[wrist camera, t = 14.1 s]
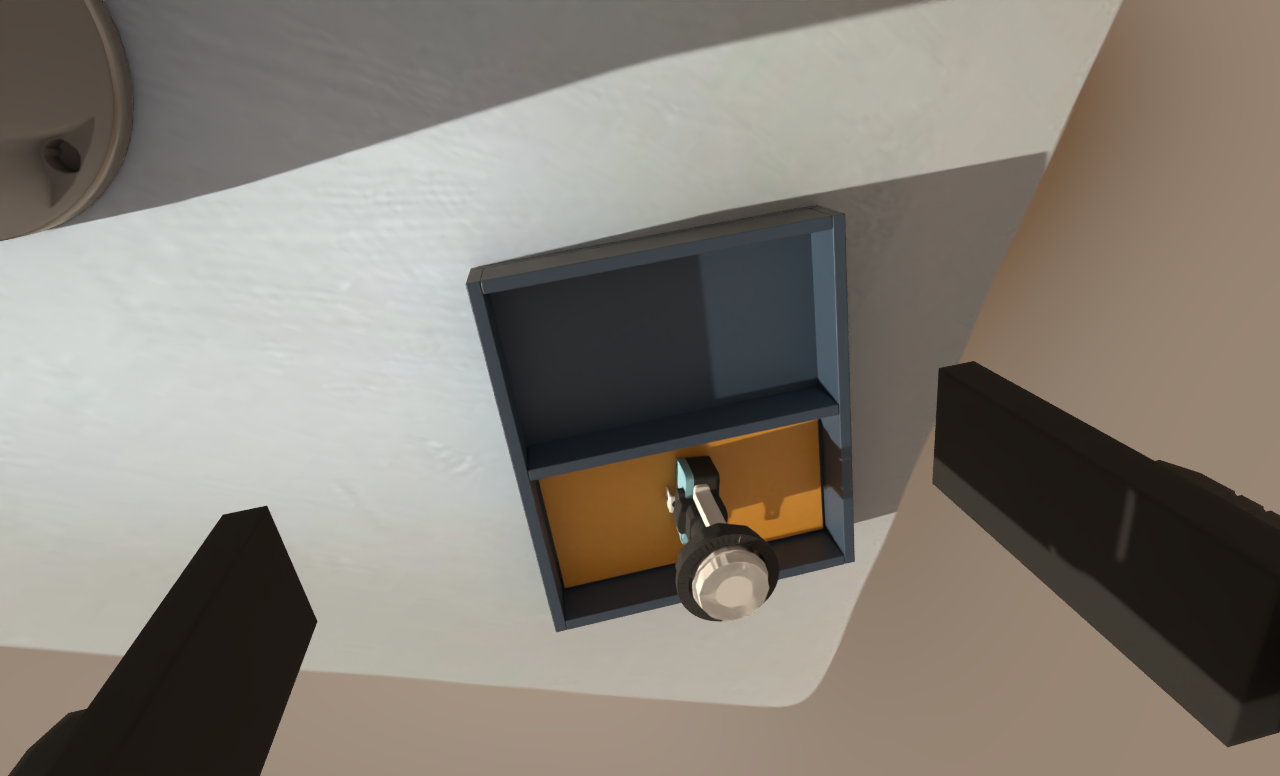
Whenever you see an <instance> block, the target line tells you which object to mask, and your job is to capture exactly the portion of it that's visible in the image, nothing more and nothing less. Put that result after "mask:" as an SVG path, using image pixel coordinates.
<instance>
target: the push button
mask: <svg viewBox="0 0 1280 776" xmlns="http://www.w3.org/2000/svg"><path fill="white" fill-rule="evenodd" d="M675 466H676V479H675V496H671V494H670V492H669V489H668V486H666V487H665V500H666V503H667V506H668V509H670V512H671V513H672V512H673V518H674V521H675V525H676V527H677V530H678V533H679V535H680V540H681V542H682V543H683V547H682V548H681V549H680V551H679V554H678V557H677V561H676V565H675V567H676V570H677V573H676V589H677V593H678V596H679V598H680V600H681V602H682V604H683V605H684V607H685V608H686V609H687V610H688V611H689V612H691V613H692V614H694V615H695V616H697V617H699V618H702V619H705V620H709V621H729V620H730V621H733V620H738V619H741V618H743V617H746V616H749V615H750V614H752V613H754V612H755V611H756V610H757V609H758V608H759V607H760V606H761V605H762V604H763V603H764V602H765V601H766V600H767V599H768V598H769V597H770V595H771V594H772V592H773V591H774V589H775V587H776V584H777V581H778V578H779V563H778V559H777V557H776V555H775V553H774V551H773V549H772V548H771V546H770V545H769V544H768V543H767V542H766V541H765V540H764V539H763V538H761V537H760V536H759V535H758V534H757V533H756V532H755V531H753V530H752V529H751V528H749V527H748V526H745V525H736V524H727V521H728V513H727V509H726V507H725V505H724V503H723V501H722V499H721V498H720V496H719V487H720V475H719V472H718V470H717V469H716V467H715V465H714V463H713V461H712V460H711V458H710V456H702V457H688V458H676V462H675ZM667 494H668V496H667ZM752 548H754V549H755V550H757V551H758V552H759V557H758V556H756V554H755V553H754V551H753V549H752ZM690 575H691V578H692V580H693V583H692V586H691V585H690V584H689V583H688V582H689V576H690Z"/></svg>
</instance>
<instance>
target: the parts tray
mask: <svg viewBox="0 0 1280 776" xmlns="http://www.w3.org/2000/svg"><path fill="white" fill-rule="evenodd" d="M466 288H467V292H468V295H469V299H470V303H471V307H472V311H473V315H474V319H475V322H476V326H477V330H478V334H479V338H480V342H481V345H482V349H483V353H484V357H485V361H486V365H487V369H488V372H489V376H490V380H491V384H492V388H493V392H494V395H495V399H496V403H497V407H498V411H499V415H500V419H501V422H502V426H503V430H504V434H505V438H506V442H507V445H508V449H509V453H510V457H511V461H512V465H513V469H514V472H515V476H516V480H517V484H518V488H519V492H520V495H521V499H522V503H523V507H524V511H525V515H526V518H527V522H528V526H529V530H530V534H531V538H532V542H533V545H534V549H535V553H536V557H537V561H538V565H539V568H540V572H541V576H542V580H543V584H544V588H545V592H546V595H547V599H548V603H549V607H550V611H551V615H552V618H553V622H554V626H555V630H556V632H560V631H564V630H567V629H572V628H576V627H581V626H585V625H589V624H593V623H597V622H602V621H606V620H610V619H614V618H619V617H623V616H627V615H631V614H635V613H640V612H644V611H648V610H652V609H657V608H661V607H665V606H669V605H673V604H678V603H682V602H681V600H680V598H679V596H678V593H677V589H676V573H677V570H676V567H675V565H676V561H677V557H678V554H679V551H680V549H681V548H682V547H683V543H682V542H681V540H680V535H679V533H678V530H677V527H676V525H675V521H674V518H673V512H672V513H671V512H670V509H668V506H667V503H666V500H665V487H666V486H668V489H669V492H670V494H671V496H675V479H676V466H675V462H676V458H688V457H702V456H710V458H711V460H712V461H713V463H714V465H715V467H716V469H717V470H718V472H719V475H720V487H719V496H720V498H721V499H722V501H723V503H724V505H725V507H726V509H727V513H728V521H727V524H736V525H745V526H748V527H749V528H751V529H752V530H753V531H755V532H756V533H757V534H758V535H759V536H760V537H761V538H763V539H764V540H765V541H766V542H767V543H768V544H769V545H770V546H771V548H772V549H773V551H774V553H775V555H776V557H777V559H778V563H779V578H778V580H779V579H783V578H787V577H792V576H796V575H800V574H804V573H808V572H813V571H817V570H821V569H825V568H830V567H834V566H838V565H842V564H844V563H845V564H846V563H850V562H854V561H855V556H854V520H853V484H852V448H851V413H850V377H849V341H848V305H847V269H846V233H845V214H844V213H841V212H838V211H834V210H831V209H828V208H824V207H821V206H818V205H814V206H809V207H804V208H798V209H793V210H787V211H782V212H776V213H771V214H765V215H760V216H755V217H749V218H744V219H738V220H733V221H727V222H722V223H716V224H711V225H706V226H700V227H695V228H689V229H684V230H678V231H673V232H668V233H662V234H657V235H651V236H646V237H640V238H635V239H629V240H624V241H619V242H613V243H608V244H602V245H597V246H591V247H586V248H581V249H575V250H570V251H564V252H559V253H553V254H548V255H542V256H537V257H532V258H526V259H521V260H515V261H510V262H504V263H499V264H494V265H488V266H483V267H477V268H472V269H471V270H470V273H469V276H468V279H467V282H466ZM667 496H668V494H667ZM752 549H753V551H754V553H755V554H756V556H758V557H759V552H758V551H757V550H755V549H754V548H752ZM688 583H689V584H690V585H691V586H692V583H693V580H692V578H691V575H690V576H689V582H688Z"/></svg>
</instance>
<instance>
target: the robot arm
mask: <svg viewBox="0 0 1280 776" xmlns="http://www.w3.org/2000/svg"><path fill="white" fill-rule="evenodd" d="M132 122H133V93H132V83H131V77H130V71H129V66H128V63H127V59H126V55H125V51H124V48H123V45H122V42H121V40H120V37H119V34H118V31H117V29H116V27H115V25H114V22H113V20H112V18H111V16H110V14H109V12H108V10H107V8H106V6H105V4H104V3H103V1H102V0H0V241H3V240H8V239H12V238H17V237H21V236H25V235H30V234H34V233H38V232H41V231H44V230H47V229H50V228H53V227H55V226H58V225H60V224H62V223H64V222H66V221H68V220H70V219H72V218H73V217H75V216H76V215H78V214H80V213H81V212H83V211H84V210H85V209H86V208H88V207H89V206H90V205H91V204H93V203H94V202H95V201H96V200H97V199H98V198H99V197H100V196H101V194H102V193H103V192H104V191H105V190H106V188H107V187H108V186H109V184H110V183H111V182H112V180H113V179H114V177H115V175H116V173H117V172H118V170H119V168H120V166H121V164H122V161H123V159H124V156H125V154H126V151H127V147H128V144H129V140H130V135H131V129H132ZM935 429H936V430H935V446H934V448H935V449H934V465H933V484H934V485H935V486H936V487H937V488H938V489H939V490H941V491H942V492H943V493H944V494H945V495H946V496H947V497H948V498H950V499H951V500H952V501H953V502H954V503H955V504H956V505H957V506H958V507H960V508H961V509H962V510H963V511H964V512H965V513H966V514H967V515H968V516H970V517H971V518H972V519H973V520H974V521H975V522H976V523H978V524H979V525H980V526H981V527H982V528H983V529H984V530H985V531H986V532H987V533H989V534H990V535H991V536H992V537H993V538H994V539H995V540H996V541H998V542H999V543H1000V544H1001V545H1002V546H1003V547H1004V548H1005V549H1007V550H1008V551H1009V552H1010V553H1011V554H1012V555H1013V556H1014V557H1015V558H1017V559H1018V560H1019V561H1020V562H1021V563H1022V564H1023V565H1024V566H1025V567H1027V568H1028V569H1029V570H1030V571H1031V572H1032V573H1033V574H1034V575H1036V576H1037V577H1038V578H1039V579H1040V580H1041V581H1042V582H1043V583H1045V584H1046V585H1047V586H1048V587H1049V588H1050V589H1051V590H1053V592H1055V593H1056V594H1057V595H1058V596H1059V597H1060V598H1061V599H1062V600H1063V601H1065V602H1066V603H1067V604H1068V605H1069V606H1070V607H1071V608H1073V609H1074V610H1075V611H1076V612H1077V613H1078V614H1079V615H1080V616H1081V617H1082V618H1084V619H1085V620H1086V621H1087V622H1088V623H1089V624H1090V625H1091V626H1093V627H1094V628H1095V629H1096V630H1097V631H1098V632H1099V633H1100V634H1102V635H1103V636H1104V637H1105V638H1106V639H1107V640H1108V641H1109V642H1111V643H1112V644H1113V645H1114V646H1115V647H1116V648H1117V649H1118V650H1120V651H1121V652H1122V653H1123V654H1124V655H1125V656H1126V657H1127V658H1128V659H1129V660H1131V661H1132V662H1133V663H1134V664H1135V665H1136V666H1137V667H1138V668H1139V669H1141V670H1142V671H1143V672H1144V673H1145V674H1146V675H1147V676H1148V677H1150V678H1151V679H1152V680H1153V681H1154V682H1155V683H1156V684H1157V685H1158V686H1160V687H1161V688H1162V689H1163V690H1164V691H1165V692H1166V693H1167V694H1169V695H1170V696H1171V697H1172V698H1173V699H1174V700H1175V701H1176V702H1178V703H1179V704H1180V705H1181V706H1182V707H1183V708H1184V709H1185V710H1186V711H1188V712H1189V713H1190V714H1191V715H1192V716H1193V717H1194V718H1195V719H1197V720H1198V721H1199V722H1200V723H1201V724H1202V725H1203V726H1204V727H1205V728H1207V729H1208V730H1209V731H1210V732H1211V733H1212V734H1213V735H1214V736H1216V737H1217V738H1218V739H1219V740H1220V741H1221V742H1222V743H1223V744H1224V745H1226V746H1227V747H1230V746H1234V745H1237V744H1241V743H1244V742H1247V741H1251V740H1255V739H1258V738H1262V737H1265V736H1268V735H1272V734H1276V733H1279V732H1280V515H1278V514H1276V513H1274V512H1273V511H1267V512H1266V511H1265V510H1264V508H1263V506H1261V505H1259V504H1258V503H1256V502H1254V501H1252V500H1250V499H1248V498H1246V497H1244V496H1243V495H1240V496H1237V495H1236V494H1235V491H1233V490H1231V489H1229V488H1227V487H1226V486H1223V485H1222V484H1220V483H1218V482H1216V481H1214V480H1212V479H1210V478H1208V477H1207V476H1205V475H1203V474H1201V473H1199V472H1195V471H1192V470H1189V469H1186V468H1183V467H1180V466H1177V465H1174V464H1171V463H1168V462H1165V461H1161V460H1158V461H1154V460H1152V459H1150V458H1148V457H1146V456H1145V455H1142V454H1141V453H1139V452H1137V451H1135V450H1134V449H1132V448H1130V447H1128V446H1126V445H1124V444H1123V443H1121V442H1119V441H1117V440H1115V439H1114V438H1112V437H1110V436H1108V435H1107V434H1105V433H1103V432H1101V431H1099V430H1097V429H1096V428H1094V427H1092V426H1090V425H1088V424H1087V423H1085V422H1083V421H1081V420H1079V419H1078V418H1076V417H1074V416H1072V415H1070V414H1068V413H1066V412H1065V411H1063V410H1061V409H1059V408H1058V407H1056V406H1054V405H1052V404H1050V403H1049V402H1047V401H1045V400H1043V399H1041V398H1039V397H1038V396H1036V395H1034V394H1032V393H1030V392H1029V391H1027V390H1025V389H1023V388H1021V387H1020V386H1018V385H1016V384H1014V383H1012V382H1010V381H1009V380H1007V379H1005V378H1003V377H1001V376H1000V375H998V374H996V373H994V372H992V371H991V370H989V369H987V368H985V367H983V366H981V365H979V364H978V363H976V362H974V361H972V362H967V363H962V364H957V365H952V366H947V367H943V368H939V373H938V392H937V410H936V428H935ZM316 624H317V619H316V617H315V615H314V612H313V610H312V608H311V606H310V603H309V601H308V599H307V596H306V594H305V592H304V590H303V587H302V585H301V583H300V580H299V578H298V576H297V573H296V571H295V569H294V567H293V564H292V562H291V560H290V557H289V555H288V553H287V550H286V548H285V546H284V544H283V541H282V539H281V537H280V534H279V532H278V530H277V527H276V525H275V523H274V521H273V518H272V516H271V514H270V511H269V509H268V507H267V506H263V507H258V508H253V509H249V510H244V511H239V512H234V513H229V514H224V515H222V517H221V518H220V520H219V521H218V522H217V524H216V525H215V527H214V528H213V530H212V531H211V532H210V534H209V535H208V537H207V538H206V540H205V541H204V542H203V544H202V545H201V547H200V548H199V550H198V551H197V552H196V554H195V555H194V557H193V558H192V560H191V561H190V562H189V564H188V565H187V567H186V568H185V570H184V571H183V572H182V574H181V575H180V577H179V578H178V580H177V581H176V582H175V584H174V585H173V587H172V588H171V590H170V591H169V592H168V594H167V595H166V597H165V598H164V600H163V601H162V602H161V604H160V605H159V607H158V608H157V610H156V611H155V612H154V614H153V615H152V617H151V618H150V620H149V621H148V622H147V624H146V625H145V627H144V628H143V630H142V631H141V632H140V634H139V635H138V637H137V638H136V640H135V641H134V642H133V644H132V645H131V647H130V648H129V650H128V651H127V652H126V654H125V655H124V657H123V658H122V660H121V661H120V662H119V664H118V665H117V667H116V668H115V670H114V671H113V672H112V674H111V675H110V677H109V678H108V680H107V681H106V682H105V684H104V685H103V687H102V688H101V690H100V691H99V692H98V694H97V695H96V697H95V698H94V700H93V701H92V702H91V704H90V705H89V707H88V708H87V709H84V710H80V711H75V712H71V713H68V714H67V715H66V716H65V717H63V718H62V719H61V720H60V721H59V722H58V723H57V724H56V725H55V726H53V727H52V728H51V729H50V730H49V731H48V732H47V733H46V734H45V735H44V736H42V737H41V738H40V739H39V740H38V741H37V742H36V743H35V744H33V746H31V747H30V748H29V749H28V750H27V751H26V753H25V754H24V755H23V757H22V758H21V759H20V761H19V762H18V763H17V765H16V766H15V767H14V769H13V770H12V771H11V773H10V774H9V775H8V776H260V774H261V771H262V769H263V766H264V763H265V760H266V758H267V755H268V753H269V750H270V747H271V745H272V742H273V739H274V736H275V734H276V731H277V728H278V726H279V723H280V720H281V718H282V715H283V712H284V710H285V707H286V704H287V702H288V699H289V696H290V694H291V691H292V688H293V686H294V683H295V680H296V678H297V675H298V672H299V669H300V667H301V664H302V661H303V659H304V656H305V653H306V651H307V648H308V645H309V643H310V640H311V637H312V635H313V632H314V629H315V627H316Z"/></svg>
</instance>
